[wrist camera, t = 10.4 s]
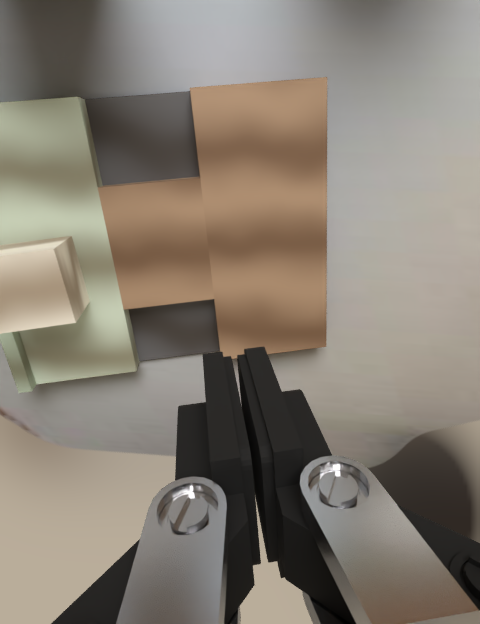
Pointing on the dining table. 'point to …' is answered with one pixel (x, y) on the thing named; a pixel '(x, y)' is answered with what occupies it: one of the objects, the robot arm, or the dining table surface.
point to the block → (40, 284)
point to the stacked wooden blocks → (172, 222)
